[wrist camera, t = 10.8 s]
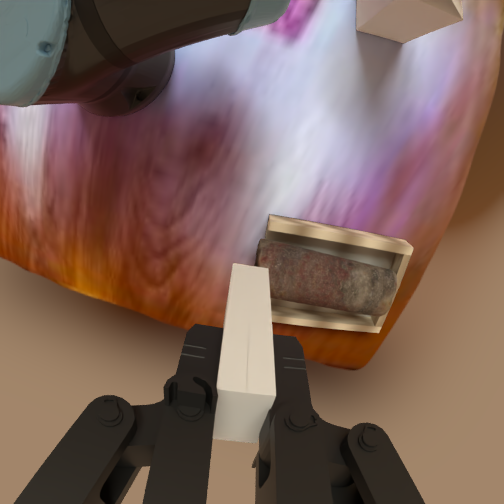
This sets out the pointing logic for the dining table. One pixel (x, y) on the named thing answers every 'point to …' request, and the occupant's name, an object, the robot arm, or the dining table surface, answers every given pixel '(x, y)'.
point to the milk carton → (406, 17)
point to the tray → (341, 245)
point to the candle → (325, 279)
